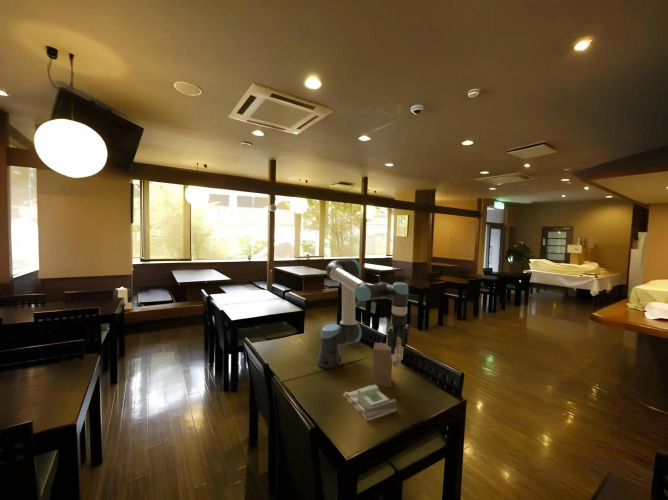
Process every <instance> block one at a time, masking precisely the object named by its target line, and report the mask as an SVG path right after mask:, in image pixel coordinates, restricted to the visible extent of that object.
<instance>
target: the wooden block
mask: <svg viewBox="0 0 668 500" xmlns="http://www.w3.org/2000/svg"><path fill="white" fill-rule="evenodd" d="M372 351H373V352H372V353H373V354H372V373H371V374H372V375H371V376H372V380H371V385H376V386H378V387H384V388H391V387H392V374H393V373H392V371H393V370H392V369H393V360H392V359H391V357H392V354H391V347H389V346H388V343H383V342H374V345H373V349H372Z"/></svg>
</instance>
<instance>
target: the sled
mask: <svg viewBox="0 0 668 500" xmlns="http://www.w3.org/2000/svg"><path fill="white" fill-rule="evenodd" d="M357 390H358V400H357V401H358V402H359V403H360V404H361V405H362V406H363V407H364V408H365V409H366V408H367V407H370V406H373V405H377V404H380V403H383V402H386V401H389V400H390V399H389V398H388V396H386V395H385V394H384V393H382V392H381V391H380V390H379V386H376V385H372V384H371V385H370V386H368V385H367V386H365V387H362V388H358V389H357Z"/></svg>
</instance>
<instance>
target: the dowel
mask: <svg viewBox="0 0 668 500" xmlns="http://www.w3.org/2000/svg"><path fill="white" fill-rule="evenodd" d="M401 344H402V339H401V338H399V336H398V337H397V342H396V347H395V348H397V353H396V361H394V360H392V367H394V368H401V363H402V362H401V361H402V360H401Z"/></svg>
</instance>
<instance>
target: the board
mask: <svg viewBox="0 0 668 500" xmlns="http://www.w3.org/2000/svg"><path fill="white" fill-rule="evenodd" d="M368 386H371V385H367V387H368ZM342 397H343V398H344V399H345V400H346V401H347V402H348V403H349V404H350V405H351V406H352V407H353V408H354V409H355V410H356V411H357V412H358V413H359V414H360V415H361V416H362V418H364V420H366V421H367V422H369V421H372V420H375V419H377V418H381V417H384V416H387V415H389V414H392V413H394V412H397V400H396V398H393V399H389V401H386V402H383V403H380V404H377V405H373V406H370V407H367V408H366V409H365V408H364V407H363V406H362V405H361V404H360V403H359V402H358V401H357V400H358V389H355V390H352V391H350V392H347V391H344V393H343V394H342Z"/></svg>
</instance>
